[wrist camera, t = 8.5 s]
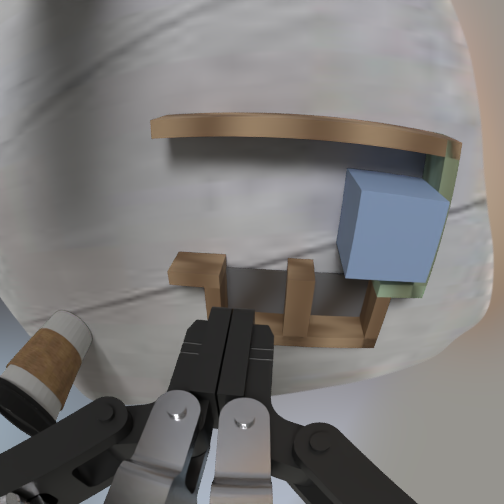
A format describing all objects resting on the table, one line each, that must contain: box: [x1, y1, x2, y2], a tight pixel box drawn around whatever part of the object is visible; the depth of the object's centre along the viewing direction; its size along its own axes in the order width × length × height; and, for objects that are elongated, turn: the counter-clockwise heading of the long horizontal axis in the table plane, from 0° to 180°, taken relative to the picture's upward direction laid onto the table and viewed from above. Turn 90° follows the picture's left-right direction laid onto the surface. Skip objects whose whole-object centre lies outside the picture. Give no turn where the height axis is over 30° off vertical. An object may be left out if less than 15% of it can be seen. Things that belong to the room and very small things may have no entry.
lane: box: [150, 113, 462, 348], centre depth 23 cm, size 20×18×3 cm
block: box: [336, 168, 450, 283], centre depth 20 cm, size 6×6×5 cm
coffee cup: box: [0, 310, 92, 437], centre depth 27 cm, size 8×8×15 cm
